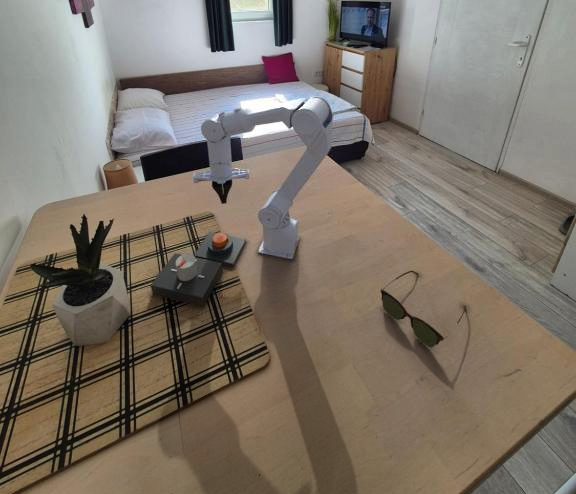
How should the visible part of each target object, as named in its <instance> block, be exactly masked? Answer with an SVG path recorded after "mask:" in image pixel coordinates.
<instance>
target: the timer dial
mask: <svg viewBox="0 0 576 494" xmlns="http://www.w3.org/2000/svg"><path fill="white" fill-rule="evenodd" d="M176 269H177V274H178V278H179V279H180V280H182V281H189V280H191V279H193V278H194V277H195V276H196V274H197V267H196V260H195V257H194V254H192V253H184V254H182V255H181V256H180V257H179V258H178V259H177V260H176Z"/></svg>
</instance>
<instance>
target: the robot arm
mask: <svg viewBox="0 0 576 494" xmlns="http://www.w3.org/2000/svg"><path fill="white" fill-rule="evenodd" d="M333 122H334V113H333V110H332V107H331V105H330V103H329V101H328V100H327V99H325V98H324V97H322V96H319V95H315V96H311V97H309V98H308V99H307V97H301V98H297V99H294V100H293V99H292V100H290V101H286V102H283V103H279V104H275V105H272V106H269V107H265V108H261V109H258V110H253V111H252V110H251V109H250V108H248V107H245V108H242V107H241V106H238V107H235V108H234V109H233V110H232V111H229V112H225V111H220V112H217V113H215V114H214V115H212V116H210V117H209V118H208V119H206V120H204V121H203V122H202V124H201V125H200V131H201V135H202V136H203V138H204V139H205V140H206V143H207V144H206V145H207V153H208V162H209V163H208V164H209V170H205V171H201V172H194V173H193V177H192V179H193V184H198V183H199V182H200V183H201V182H209V181H210V182H211V187H212V189H213V190H214V191H215V193H216V194H217V196H218V198H219V200H220V203H221V205H224V204H227V201H228V196H229V193H230V190H231V189H232V186H233V180H238V179H245V180H250V169H249V168H247V169H243V168H233V161H232V148H231V147H232V146H231V136H236V135H241V134H246V133H251V132H253V131H254V130H255V128H256V127H257V126H262V125H269V124H275V123H283V124H284V125H285V126H286V128H287V129H289V130H291V129H293V130H294V132H295V133H296V134H297V136H298V138H300V140H301V141H302V143H303V144H304V145H305V146H306V149H305V150H304V152H303V154H302V155H301V156H300V158H299V159H298V161H297V162H296V163H295V166H294V167H293V168H292V170H291V171H290V172H289V174H288V176H287V177H285V179H284V181H283V182H282V184H281V186H280V187H278V188H277V189H275V190H273V191H272V192H271V195H270V196H269V198H268V199H267V201H266V202H265V203H264V204H263V206H262V207H261V208H260V209H259V211H258V213H257V219H258V221H259V222H260V224H261V225H262V240H261V241H262V242H261V244H260V245H259V248H258V251H257V252H258V253H259V254H263V255H268V256H272V257H273V256H274V257H278V258H283V259H288V260H293V259H294V256H295V254H296V250H297V247H298V244H299V241H300V238H299V227H300V225H299V220H296V219H294V218H292V217H291V215H290V209H291V208H292V206H293V204H294V200H295V199H296V197H297V196H298V194H299V193H300V192H301V190H302V189H304V186H305V185H306V183H307V182H308V181H309V179H310V178H311V177H312V176H313V174H315V172H316V170H317V169H318V168H319V166H320V165H321V164H322V162H323V161H324V159H325V158H326V157H327V155H328V154H329V152H330V151H331V149H332V146H333Z"/></svg>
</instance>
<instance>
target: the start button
mask: <svg viewBox="0 0 576 494" xmlns="http://www.w3.org/2000/svg"><path fill="white" fill-rule="evenodd" d="M225 234H226V233H225ZM225 234H223V232H220V233H217V234H216V235H215V236H214V237H213V245H214V246H215V247H217V248H220V247H224V246H225V245H226V244H227V236H226V235H225Z"/></svg>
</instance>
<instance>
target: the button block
mask: <svg viewBox="0 0 576 494" xmlns="http://www.w3.org/2000/svg"><path fill="white" fill-rule="evenodd" d="M222 233H223V232H222ZM216 234H218V233H217V232H211V231H209V232H208V233H207V235H206V236H205V238H204V240H203V241H202V242H201V244H200V246H198V249H196V251H195V253H194V254H193V256H194V257H196V258H201V259H205V260H210V261H215V262H219V263H222V266H225V267H231V268H235V265H236V263H237V261H238V259H239V257H240V255H241V254H242V251H243V249H244V247H245V245H246V243H247V238H243V237H237V236H233V235H231V234H229V233H226V232H224V233H223V234H225V235H226V236H227V244H226V245H225V246H224V247H220V248H217V247H215V246H214V245H213V237H214V236H215V235H216Z"/></svg>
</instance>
